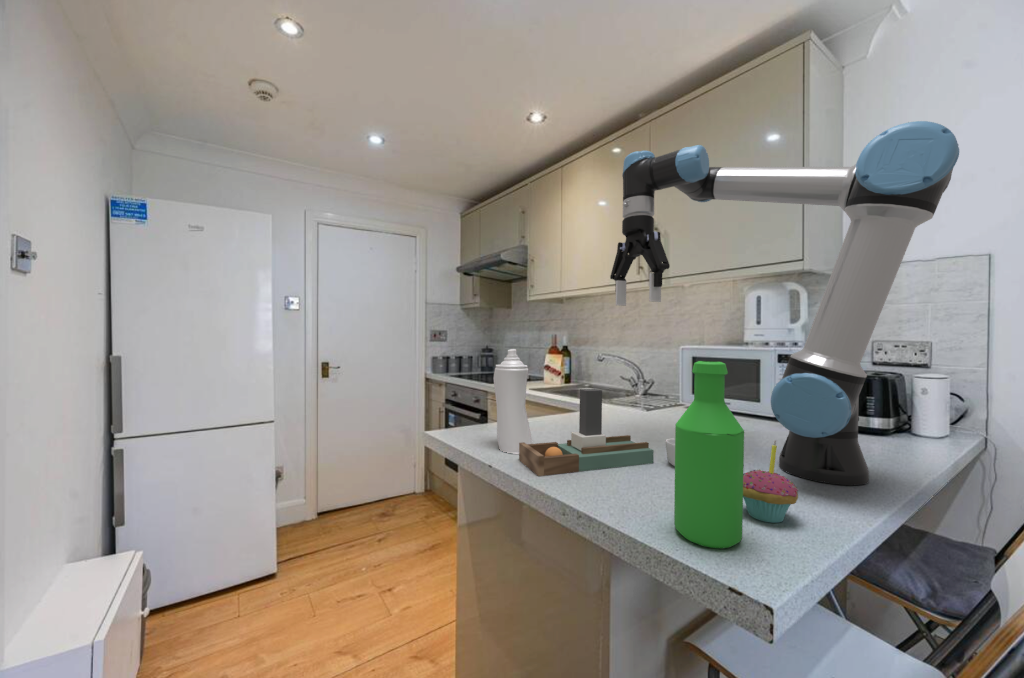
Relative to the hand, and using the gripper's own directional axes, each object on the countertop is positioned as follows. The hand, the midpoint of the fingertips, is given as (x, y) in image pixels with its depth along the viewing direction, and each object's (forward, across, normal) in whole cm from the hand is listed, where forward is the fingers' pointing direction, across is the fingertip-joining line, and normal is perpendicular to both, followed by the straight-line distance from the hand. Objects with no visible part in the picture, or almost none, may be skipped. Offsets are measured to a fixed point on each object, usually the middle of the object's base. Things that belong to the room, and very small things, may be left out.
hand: (636, 303), depth 102 cm
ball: (+35, +4, -24) cm, 42 cm away
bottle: (+37, +40, -17) cm, 57 cm away
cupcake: (+37, +38, -3) cm, 53 cm away
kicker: (+34, +4, -16) cm, 37 cm away
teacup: (+37, +14, +4) cm, 40 cm away
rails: (+34, +4, -11) cm, 36 cm away
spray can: (+37, -12, -28) cm, 48 cm away
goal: (+37, +4, -25) cm, 45 cm away
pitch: (+37, +4, -12) cm, 39 cm away
